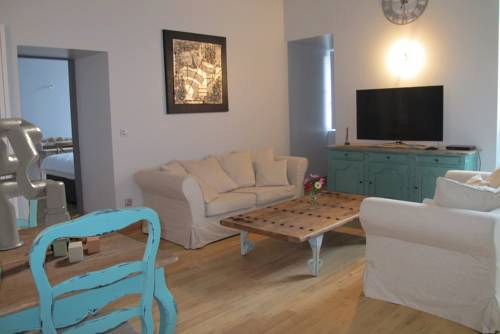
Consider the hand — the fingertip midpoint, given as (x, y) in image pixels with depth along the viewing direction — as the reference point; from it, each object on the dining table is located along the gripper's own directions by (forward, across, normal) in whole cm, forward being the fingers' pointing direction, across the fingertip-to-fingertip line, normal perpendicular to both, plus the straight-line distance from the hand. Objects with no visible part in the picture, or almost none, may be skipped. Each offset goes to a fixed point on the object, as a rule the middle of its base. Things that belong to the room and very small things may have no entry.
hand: (61, 251), depth 195 cm
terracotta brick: (+2, +14, -2) cm, 14 cm away
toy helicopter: (+2, +2, +15) cm, 15 cm away
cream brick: (+1, +6, -10) cm, 12 cm away
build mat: (+1, +6, -10) cm, 12 cm away
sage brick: (+1, 0, 0) cm, 1 cm away
